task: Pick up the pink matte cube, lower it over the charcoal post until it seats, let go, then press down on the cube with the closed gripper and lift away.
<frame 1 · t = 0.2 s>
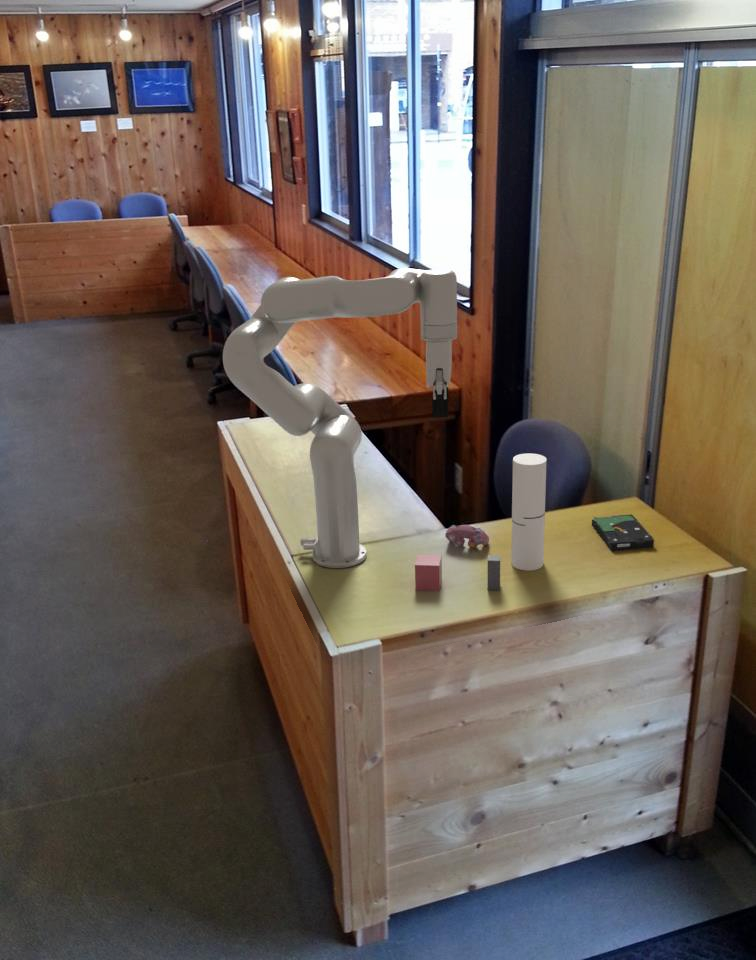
hand: (440, 410, 199), 36 cm above the table, tool pointing down, fingers open, 9 cm apart
pink matte cube: (428, 584, 201), on the table
purple lumpy figure: (467, 546, 219), on the table
cylindrical container: (527, 564, 209), on the table
disk drive: (621, 538, 221), on the table
post: (493, 587, 199), on the table
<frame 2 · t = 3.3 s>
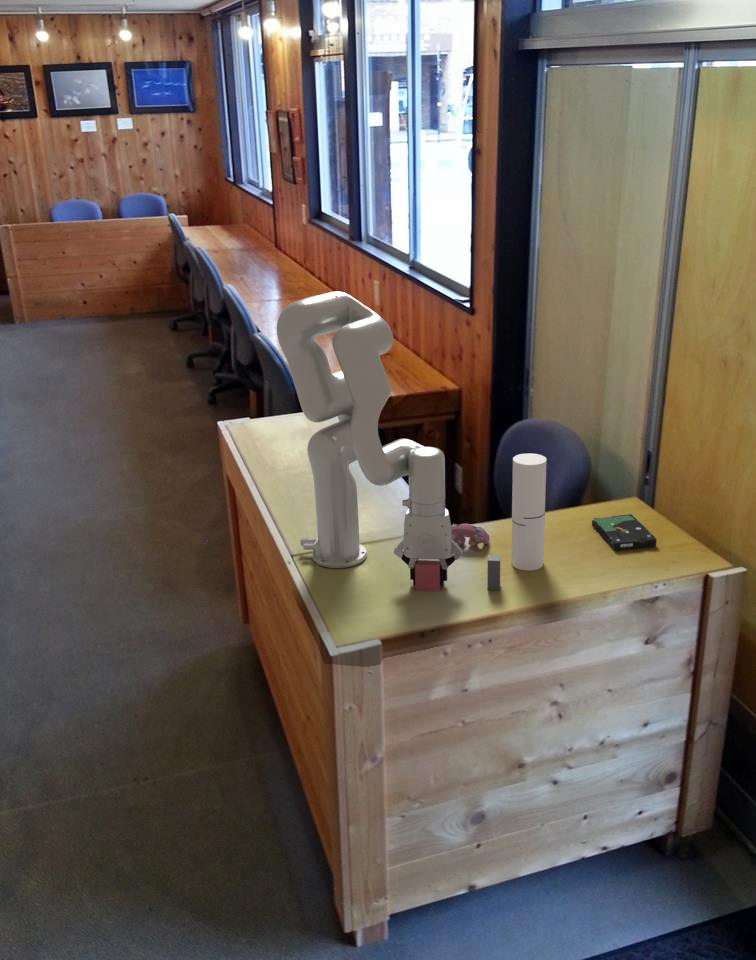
hand: (428, 582, 201), 1 cm above the table, tool pointing down, fingers closed on pink matte cube, 5 cm apart
pink matte cube: (428, 584, 201), on the table, touching gripper
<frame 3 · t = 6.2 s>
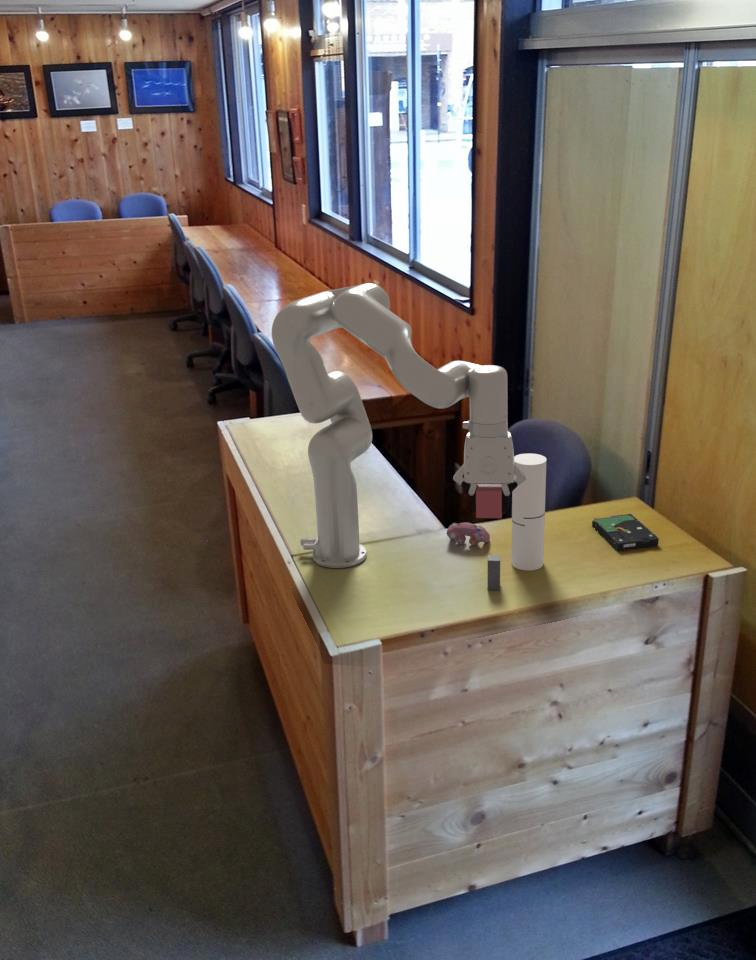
hand: (489, 510, 193), 18 cm above the table, tool pointing down, fingers closed on pink matte cube, 5 cm apart
pink matte cube: (489, 513, 193), point 17 cm above the table, touching gripper
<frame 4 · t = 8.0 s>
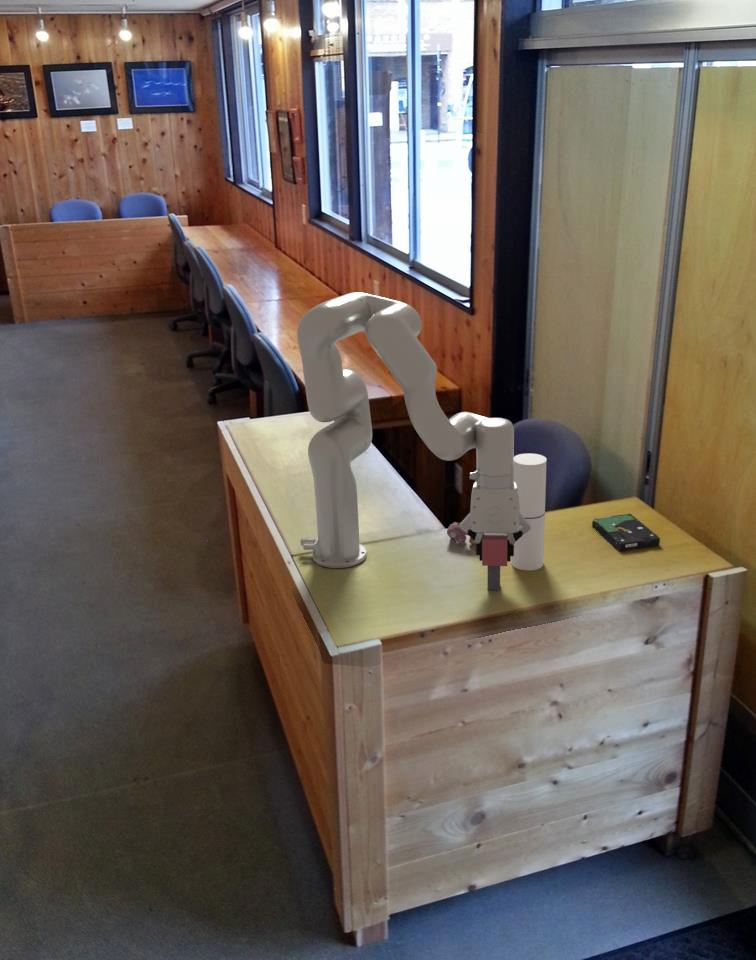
hand: (495, 557, 197), 7 cm above the table, tool pointing down, fingers closed on pink matte cube, 5 cm apart
pink matte cube: (495, 560, 197), point 6 cm above the table, touching gripper
when the fingers open (3 cm above the table, at t = 9.3 s): pink matte cube stays where it is, resting on post.
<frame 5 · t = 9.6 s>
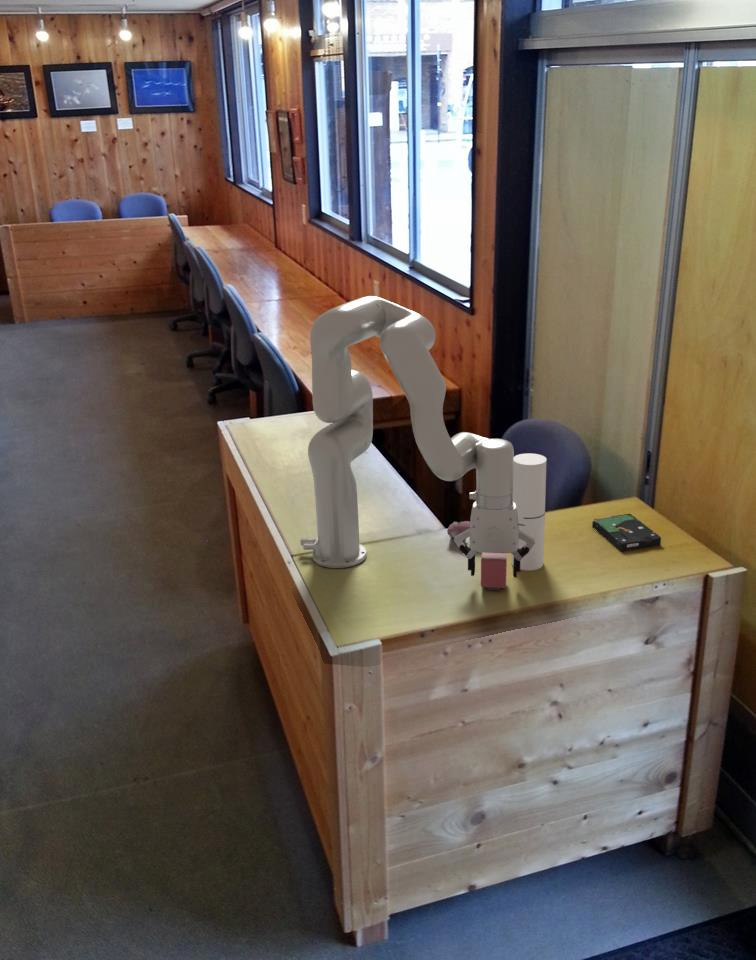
hand: (493, 573, 198), 3 cm above the table, tool pointing down, fingers open, 8 cm apart
pink matte cube: (493, 581, 199), point 1 cm above the table, touching post
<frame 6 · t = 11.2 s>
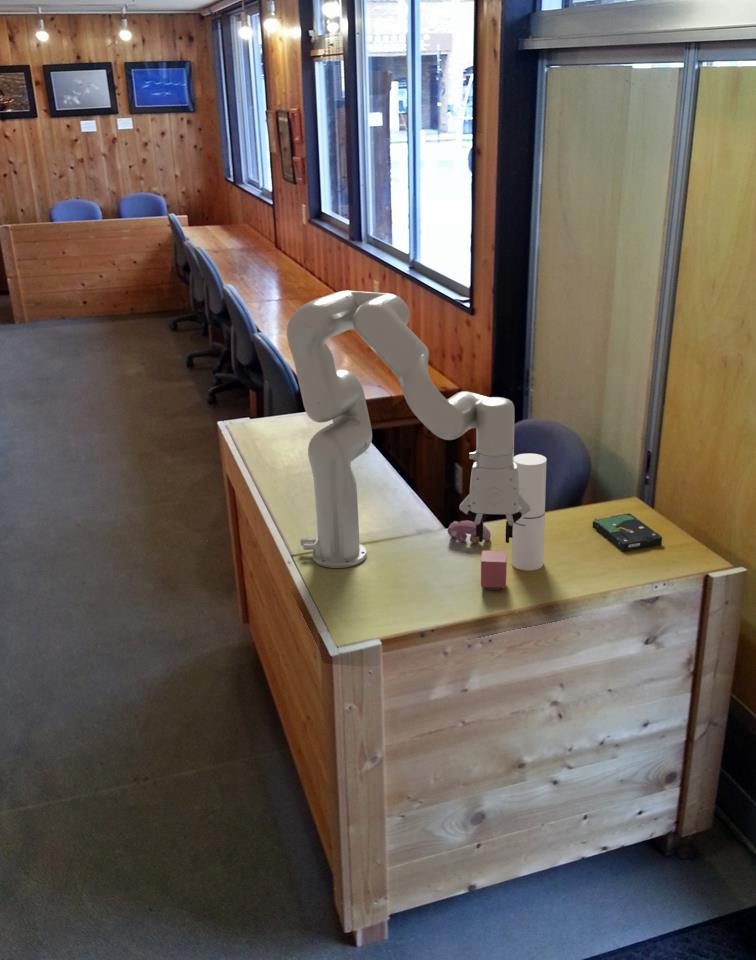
hand: (494, 539, 195), 11 cm above the table, tool pointing down, fingers open, 4 cm apart
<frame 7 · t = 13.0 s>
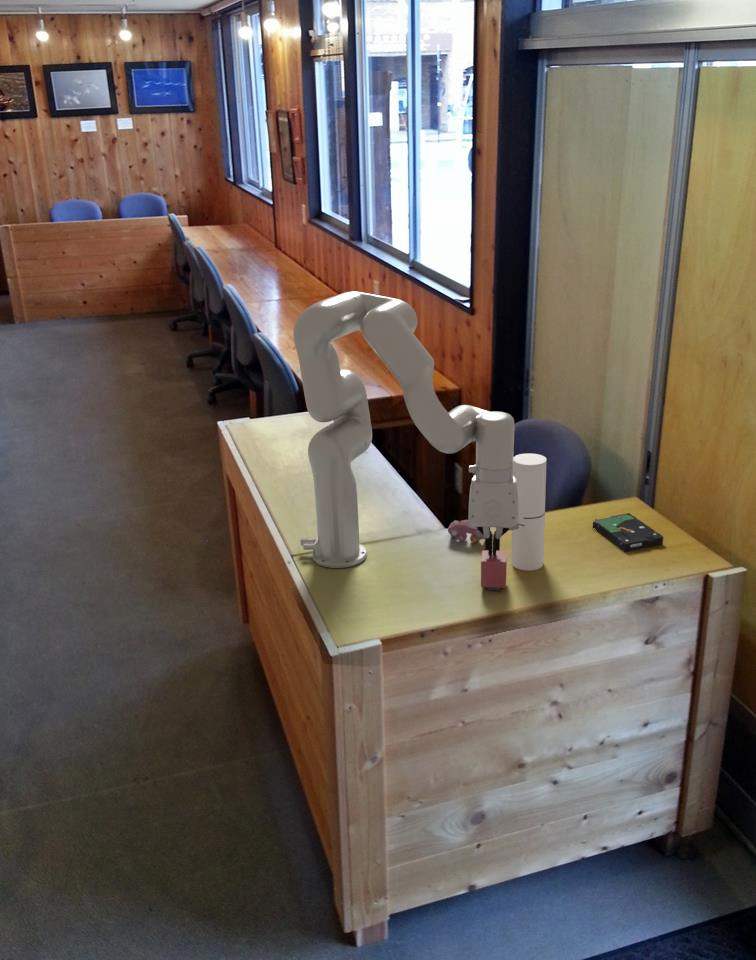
hand: (492, 552, 196), 8 cm above the table, tool pointing down, fingers closed
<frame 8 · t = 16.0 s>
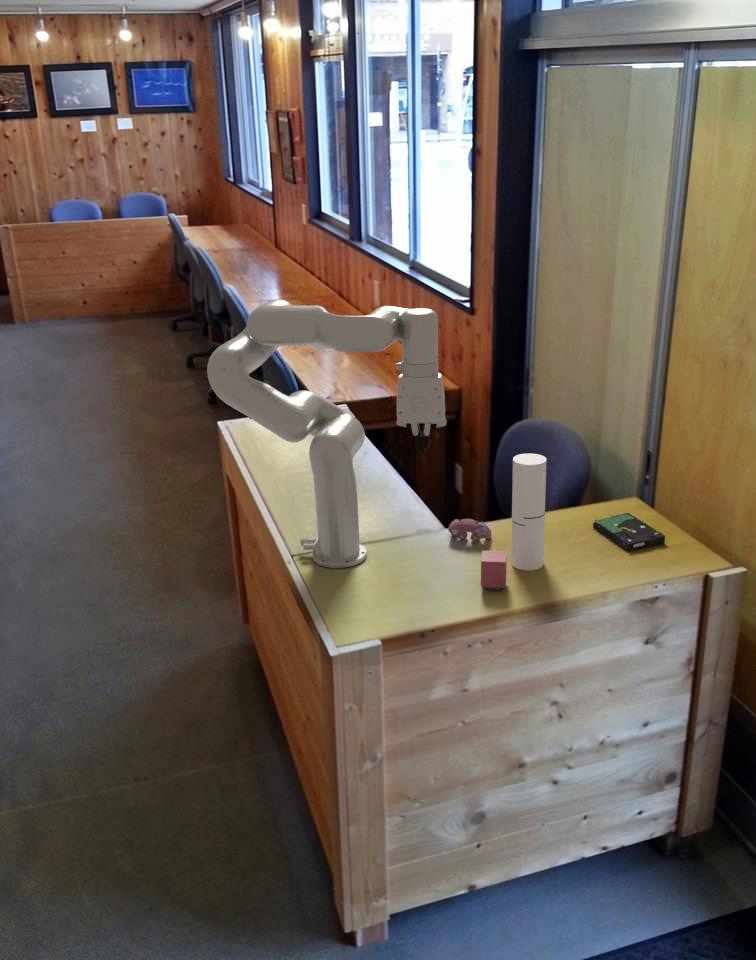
hand: (422, 451, 201), 27 cm above the table, tool pointing down, fingers closed
at the end: pink matte cube 0.0 cm from the post (horizontally); pink matte cube point 1.4 cm above the table; the gripper is holding nothing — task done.
